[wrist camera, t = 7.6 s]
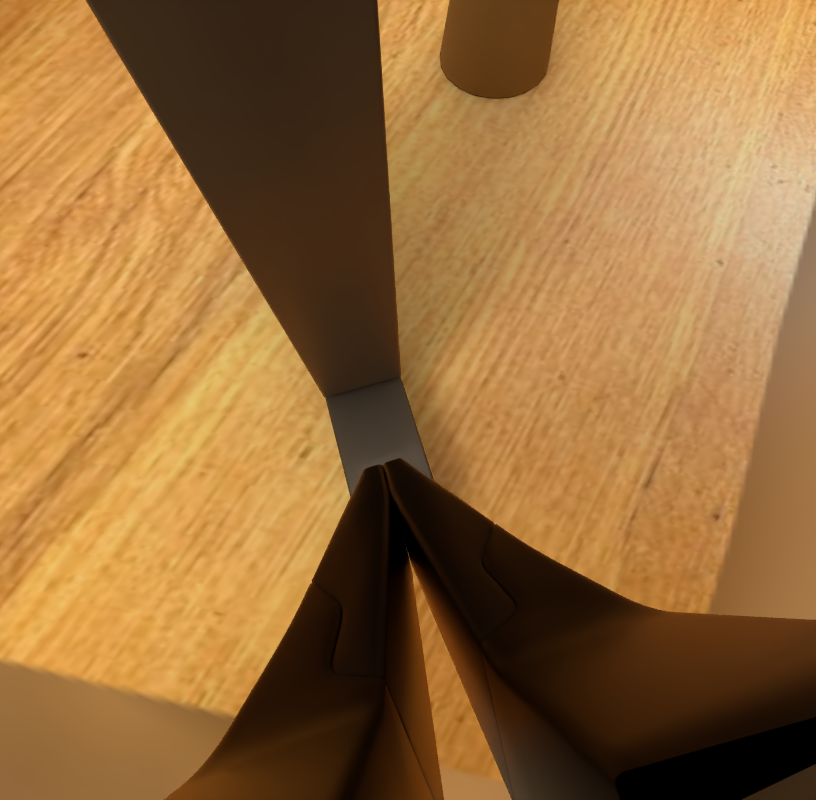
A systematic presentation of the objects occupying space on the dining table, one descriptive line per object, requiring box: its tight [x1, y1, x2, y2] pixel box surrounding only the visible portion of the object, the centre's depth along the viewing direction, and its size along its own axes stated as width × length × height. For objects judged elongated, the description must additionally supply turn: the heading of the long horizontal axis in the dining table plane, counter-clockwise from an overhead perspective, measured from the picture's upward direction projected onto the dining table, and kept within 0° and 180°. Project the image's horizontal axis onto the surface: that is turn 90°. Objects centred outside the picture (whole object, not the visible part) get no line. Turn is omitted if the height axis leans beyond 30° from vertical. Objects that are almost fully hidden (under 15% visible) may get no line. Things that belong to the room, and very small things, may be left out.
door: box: [86, 0, 401, 397], centre depth 11 cm, size 10×3×13 cm, turn 17°
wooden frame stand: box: [325, 376, 434, 496], centre depth 11 cm, size 17×4×15 cm, turn 17°
